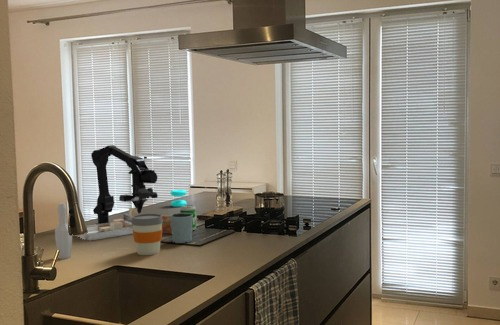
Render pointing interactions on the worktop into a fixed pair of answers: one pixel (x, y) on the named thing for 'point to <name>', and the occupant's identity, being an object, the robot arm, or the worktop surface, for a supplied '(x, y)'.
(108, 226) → the board
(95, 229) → the box
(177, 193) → the pair of cyan domes
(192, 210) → the soda can
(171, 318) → the worktop surface
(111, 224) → the beige block
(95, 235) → the rails
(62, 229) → the faceted bottle
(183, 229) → the blue-grey cup
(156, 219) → the reusable coffee cup
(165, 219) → the tin
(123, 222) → the salmon pink block
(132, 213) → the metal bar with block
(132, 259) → the worktop surface
